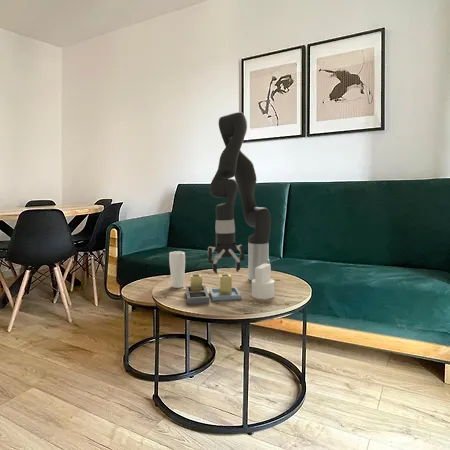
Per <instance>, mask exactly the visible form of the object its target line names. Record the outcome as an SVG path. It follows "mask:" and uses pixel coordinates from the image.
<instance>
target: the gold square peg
mask: <svg viewBox="0 0 450 450" xmlns="http://www.w3.org/2000/svg"><path fill="white" fill-rule="evenodd" d="M217 274H218V275H217V277H218V288H219V295H220V296H224V295H232V286H233V284H232V280H233V278H232V275H231V273H224V272H223V273H217Z"/></svg>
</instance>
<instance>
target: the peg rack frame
mask: <svg viewBox="0 0 450 450" xmlns="http://www.w3.org/2000/svg"><path fill="white" fill-rule="evenodd" d="M185 295H186V302H187V306H195V305H210V294H209V293H208V290H207V287H206V285H205V284H204V285H202V291H190V285H188V286H185Z"/></svg>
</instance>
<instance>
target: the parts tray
mask: <svg viewBox="0 0 450 450" xmlns="http://www.w3.org/2000/svg"><path fill="white" fill-rule="evenodd" d="M209 296H210V297H211V301H212V302H223V301H224V302H225V301H228V302H229V301H241V300H242V294H241V293H240V291H239V289H238V288H237V287H236V286H233V287H232V295H224V296H220V295H219V287H215V288H209Z"/></svg>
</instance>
